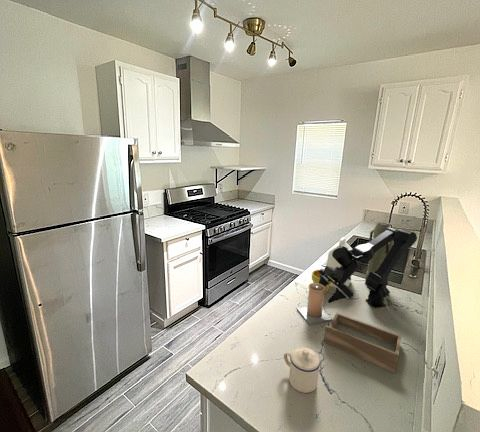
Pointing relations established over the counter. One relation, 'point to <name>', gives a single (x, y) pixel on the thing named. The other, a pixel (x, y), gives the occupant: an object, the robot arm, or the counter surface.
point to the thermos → (382, 252)
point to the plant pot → (316, 279)
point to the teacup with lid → (303, 369)
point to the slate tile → (313, 320)
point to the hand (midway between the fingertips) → (322, 296)
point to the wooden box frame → (363, 342)
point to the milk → (332, 262)
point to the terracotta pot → (315, 300)
